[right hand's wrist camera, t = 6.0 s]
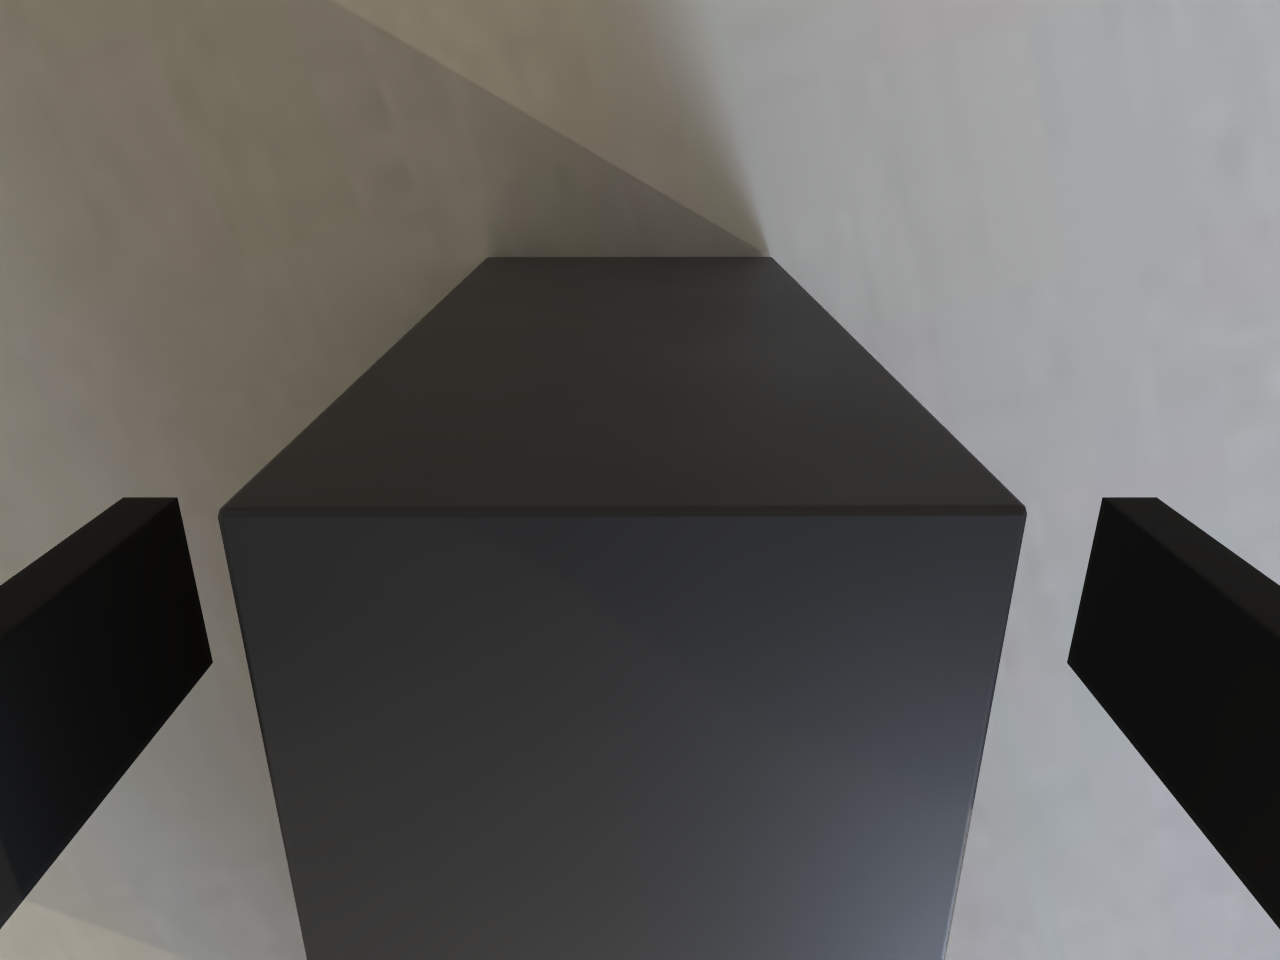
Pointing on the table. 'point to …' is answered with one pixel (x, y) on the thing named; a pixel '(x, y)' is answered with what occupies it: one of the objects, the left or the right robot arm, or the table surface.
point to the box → (624, 630)
